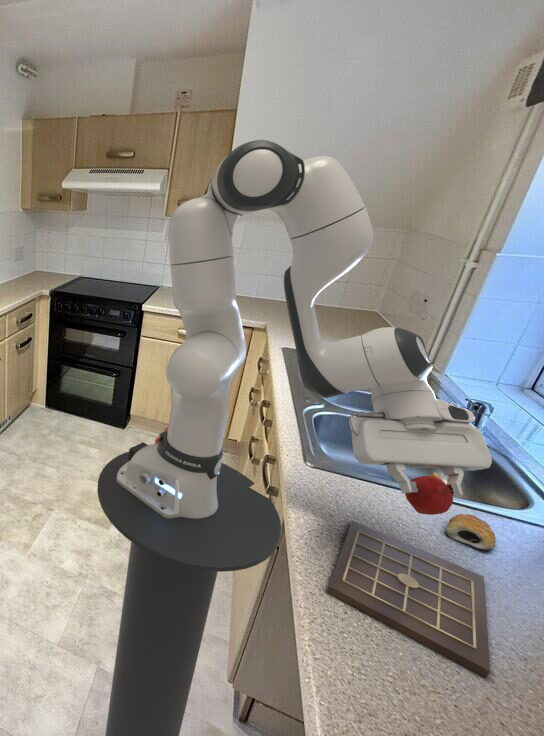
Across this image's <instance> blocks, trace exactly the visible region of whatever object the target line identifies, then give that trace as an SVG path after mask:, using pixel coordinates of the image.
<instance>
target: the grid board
mask: <svg viewBox="0 0 544 736" xmlns="http://www.w3.org/2000/svg"><path fill="white" fill-rule="evenodd" d="M326 592H327V594H329V595H331V596H333V597H334V598H337V599H338V600H340V601H342V602H344V603H346V604H349V605H350V606H351V607H353V608H355V609H357V610H359V611H360V612H363V613H364V614H366V615H368V616H370V617H372V618H374V619H376V620H377V621H379V622H381V623H382V624H384V625H387V626H389V627H390V628H392V629H394V630H396V631H398V632H399V633H402V634H403V635H405V636H407V637H409V638H410V639H413V640H415V641H417V642H418V643H420V644H422V645H424V646H425V647H427V648H429V649H431V650H433V651H435V652H437V653H438V654H441V655H442V656H444V657H446V658H448V659H449V660H452V661H453V662H455V663H457V664H459V665H461V666H463V667H465V668H466V669H468V670H470V671H472V672H473V673H475V674H478V675H479V676H481V677H482V678H485V679H487V678H488V675H489V674H490V673H491V664H490V647H489V634H488V620H487V605H486V590H485V577H484V575H481V574H479V573H477V572H474V571H472V570H470V569H468V568H465V567H463V566H461V565H458V564H456V563H453V562H451V561H448V560H447V559H445V558H442V557H439V556H437V555H435V554H433V553H430V552H428V551H425V550H423V549H420V548H418V547H416V546H413V545H412V544H409V543H406V542H404V541H402V540H399V539H398V538H396V537H392V536H390V535H388V534H386V533H383V532H381V531H379V530H376V529H375V528H371V527H370V526H367V525H365V524H362V523H360V522H357V521H356V520H353V519H352V520H351V522H350V524H349V527H348V529H347V533H346V535H345V538H344V542H343V545H342V547H341V551H340V553H339V556H338V559H337V562H336V565H335V567H334V570H333V574H332V576H331V580H330V583H329V585H328V588H327V590H326Z"/></svg>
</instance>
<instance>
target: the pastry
mask: <svg viewBox="0 0 544 736" xmlns="http://www.w3.org/2000/svg"><path fill="white" fill-rule="evenodd" d="M445 532H446V534H447V536H448V537H449V538H451V539H453V540H456V541H458V542H460V543H462V544H466V545H469V546H471V547H473V548H476V549H479V550H486V551H487V550H490V549H493V548H495V546H496V540H497V538H496V534H495V532H494V530H492V528H491V526H490V525H489V524H488V522H487V521H485V520H482V519H481V518H479V517H478V516H475V515H474V514H469V513H460V514H459V513H458V514H456V515H454V516H452V517H450V518H449V520H448V523H447V526H446V528H445Z"/></svg>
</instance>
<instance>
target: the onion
mask: <svg viewBox="0 0 544 736" xmlns="http://www.w3.org/2000/svg"><path fill="white" fill-rule="evenodd" d="M410 481H412V482H416V485H417V488H418V493H412V494H411V493H404V496H405V498H406V500H407V502H408V503H409V504H410V506H411V507H412V508H413V509H414V510H415V512H417V513H418V514H420V515H431V516H432V515H434V516H435V515H441V514H444V513H446V512H448V511H449V509H450V508H452V505H453V504H454V503H453V502H454V496H453V495H452V492H451V491H450V489H449V488H448V486H447V483H446V482H445V481H443V479H441V477H440V476H439V474H438V473H436V472H434V471H433V472H431V474H430V475H421V476H418V477H414V478H412V479H410Z"/></svg>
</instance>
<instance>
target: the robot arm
mask: <svg viewBox="0 0 544 736" xmlns="http://www.w3.org/2000/svg"><path fill="white" fill-rule="evenodd" d="M262 210H270V211H272V212H274V213H275V214H276V215H277V216H278V217H279V219H280V220H281V221H282V222H283V225H284V228H285V230H286V233H287V235H288V238H289V241H290V243H291V246H292V261H291V263H290V264H291V265H290V266H288V267H287V269H286V270H285V271H284V275H283V290H284V296H285V302H286V307H287V313H288V317H289V318H288V319H289V323H290V327H291V332H292V336H293V342H294V346H295V351H296V358H297V371H298V376H299V380H300V382H301V384H302V385H303V387H304V389H305V390H307V391H308V392H310V393H312V394H313V395H316V396H319V397H320V398H321V397H322V398H324V399H329V398H333V397H337V396H341V395H345V394H348V393H352V392H359V391H364V390H369V389H370V393H371V395H370V402H371V404H372V408H373V411H370V412H366V411H355V413H352V414H351V415H350V416H349V418H348V424H349V428H350V430H351V443H352V444H351V445H352V451H353V455H354V458H355V459H356V461H357V462H358V463H360V464H361V465H370V466H371V465H372V466H373V465H374V466H386V469H387V473H388V474H389V475H390V476H391V477H392V478H393V479H394V480H395V482H396V483H398V485H399V490H400V492H401V493H402V494H405V493H411V494H412V493H418V488H417V485H416V482H412V481H411V479H410V478H409V477H408V476H407V474H405V472H404V471H406V468H421V469H437V470H442V473H443V475H444V476H447V481H446V485H447V486H448V488H449V489H450V491H451V492H452V495H453V497H463V496H464V492H463V489H462V486H461V485H462V482H463V479H464V476H465V473H464V471H469V472H472V471H473V472H475V471H480V470H481V471H482V470H485V469H489V468H490V467H492V463H493V459H492V458H493V457H492V455H491V451H490V449H489V447H488V445H487V442H486V440H485V437H484V436H483V434H482V432H481V431H480V430H479V428H478V427H476V425H473V424H471V423H473V422H475V421H476V420H475V416H474V413H473V412H472V410H470V409H467V408H465V407H461V406H458V405H454V404H451V403H448V402H447V401H444V400H442V399H439V398H437V397H436V395H435V392H434V390H433V389H432V388H431V386H430V385H429V383H428V380H427V377H428V375H429V374H430V373H431V371H432V370H433V368H434V366H433V365H432V363H431V361H430V358H429V356H428V355H429V354H428V352H427V349H426V345H425V342H424V340H423V338H422V337H421V335H419V334H417V333H415V332H412V331H410V330H407V329H405V328H401V327H396V326H394V327H393V326H387V327H386V326H385V327H379V328H375V329H371V330H369V331H367V332H366V333H363V334H360V335H357V336H356V335H355V336H353V337H348V338H344V339H340V340H336V341H332V342H331V341H330V342H327V341H324V340H322V339H321V334H320V333H321V332H320V328H319V324H318V318H317V313H316V308H315V300H316V298H317V296H319V294H320V293H321V292H322V291H323V290H324V289H325V288H327V287H329V285H331V284H332V283H334V282H335V281H337V280H338V279H339V278H340V277H342V276H343V275H345V274H346V273H348V272H349V271H350V270H352V269H353V268H354V267H355V266H356V265H358V263H360V261H361V260H363V258H364V257H365V255H367V253H368V251H369V250H370V248H371V246H372V244H373V240H374V231H373V230H374V229H373V226H372V221H371V218H370V214H369V213H368V209H367V207H366V205H365V202H364V201H363V198H362V196H361V195H360V192H359V190H358V188H357V187H356V185H355V183H354V181H353V180H352V178H351V177H350V175H349V173H348V172H347V170H346V169H345V168H344V166H343V165H342V164H341V162H340V161H339V160H338V159H336V158H335V157H332V156H330V155H318V156H313V157H309V158H306V159H302V158H300V157H299V156H297V155H296V154H294V153H292V152H290V151H289V150H287V149H286V148H285V147H283V146H282V145H280V144H278V143H277V142H274V141H271V140H267V139H256V140H251V141H248V142H244V143H242V144H241V145H239V146H237V147H235V148H234V149H232V151H230V152H229V154H227V155H226V156H224V158H222V160H221V161H220V162H219V163H218V164H217V166H216V168H215V170H214V172H213V174H212V176H211V178H210V180H209V183H208V184H207V187H206V189H205V191H204V194H203V195H202V196H200V197H195V198H192V199H189V200H187V201H185V202H183V203H182V204H180V205H179V206H177V208H175V210H174V211H173V213H172V214H171V217H170V218H171V219H170V226H169V240H168V241H169V242H168V243H169V246H168V247H169V248H168V249H169V250H168V251H169V266H170V276H171V277H170V278H171V287H172V297H173V303H174V307H175V308H176V310H177V311H178V312H179V315H180V317H181V321H182V323H183V328H184V330H185V340H184V341H183V342H182V343H181V344H179V345H178V346H177V347H176V348H175V349H174V351H173V352H172V354H171V356H170V358H169V360H168V362H167V365H166V368H165V369H166V370H165V374H166V375H165V376H166V381H167V383H168V384H169V387H170V400H171V401H170V402H171V403H170V413H169V419H168V420H169V421H168V426H167V427H165V428H164V429H163V430H164V431H162V432H161V433H159V434H158V436H157V437H156V438H155V440H154V443H152V444H147V443H146V442H140V443H138V444H136V445H133V446H132V447H129V450H128V452H129V457H128V459H129V460H130V461H129V462H127V463H126V464H124V465H123V466H122V467H121V468H120V470H119V471H118V474H117V478H116V481H117V483H119V484H120V485H121V486H123V487H124V488H125V489H127V490H128V491H129V492H131V493H132V494H133V495H135V496H136V497H137V498H139V499H140V500H141V501H143V502H144V503H145V504H147V505H148V506H149V507H151V508H152V509H153V510H155V511H156V512H157V513H159V514H160V515H161V516H163V517H165V518H177V517H184V518H193V519H198V518H205V517H208V516H211V515H212V514H214V513H215V512H216V510H217V508H218V500H217V475H218V474H219V471H220V468H221V463H223V456H224V446H223V444H224V439H225V434H226V430H227V425H228V420H229V413H228V404H229V403H228V402H229V393H230V388H231V384H232V381H233V379H234V378H235V375H236V373H237V372H238V370H239V369H240V368H241V367H242V365H243V364H244V362H245V361H246V357H247V341H246V338H245V333H244V327H243V323H242V318H241V313H240V309H239V305H238V300H237V299H238V297H237V290H236V289H237V288H236V274H235V260H234V245H233V234H234V232H233V231H234V228H235V225H236V222H237V221H238V220H239V218H240V217H242V216H244V215H251V214H254V213H256V212H259V211H262Z"/></svg>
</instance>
